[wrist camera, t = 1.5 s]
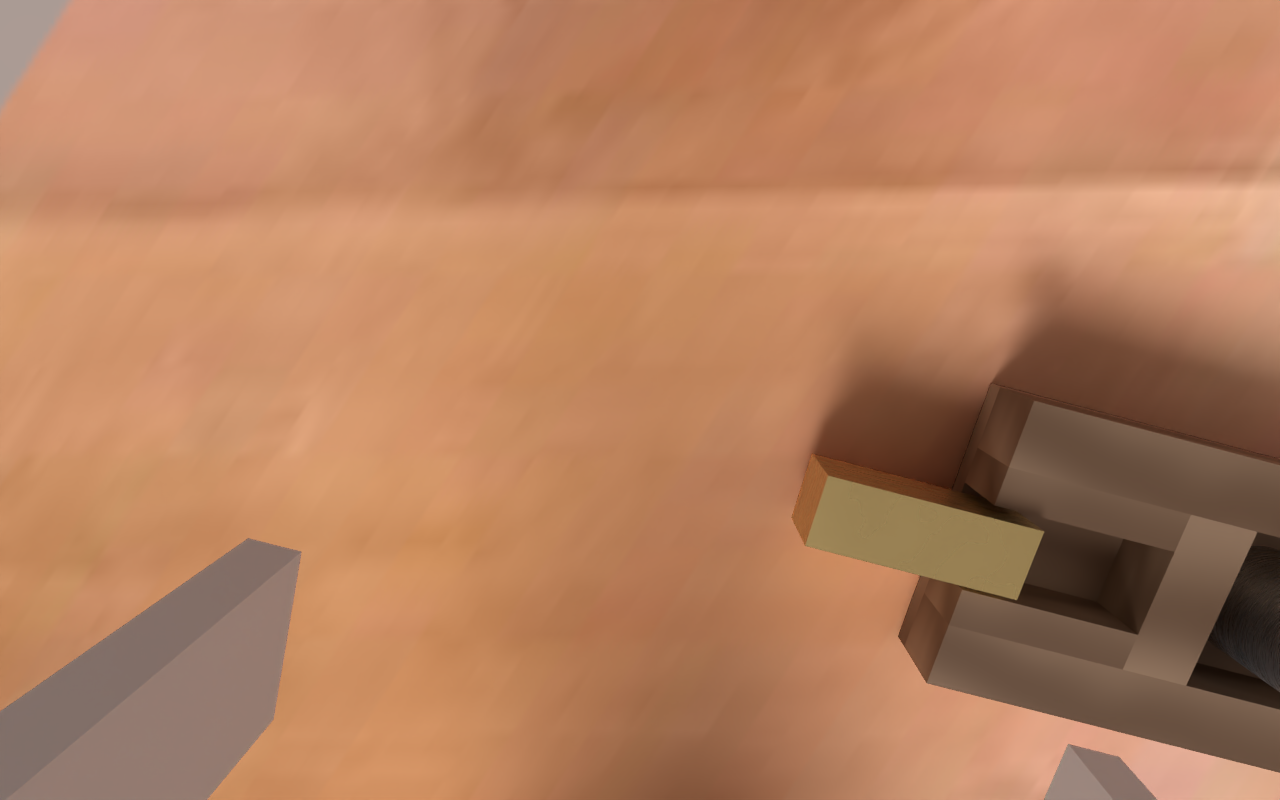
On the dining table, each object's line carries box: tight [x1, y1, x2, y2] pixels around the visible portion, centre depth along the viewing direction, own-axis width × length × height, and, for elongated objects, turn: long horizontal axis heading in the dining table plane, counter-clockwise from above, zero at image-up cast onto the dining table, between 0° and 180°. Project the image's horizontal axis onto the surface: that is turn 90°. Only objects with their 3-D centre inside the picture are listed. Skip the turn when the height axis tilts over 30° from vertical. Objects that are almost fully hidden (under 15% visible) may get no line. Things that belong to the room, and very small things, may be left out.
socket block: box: [898, 383, 1280, 773], centre depth 25 cm, size 10×16×3 cm, turn 76°
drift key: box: [791, 454, 1044, 600], centre depth 24 cm, size 2×7×2 cm, turn 75°
